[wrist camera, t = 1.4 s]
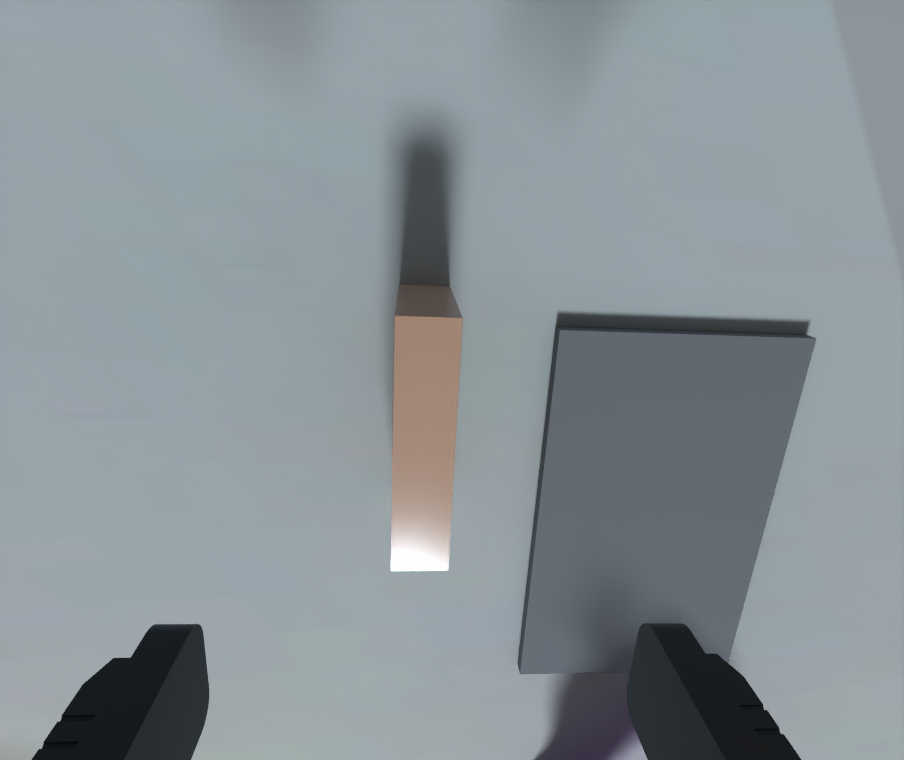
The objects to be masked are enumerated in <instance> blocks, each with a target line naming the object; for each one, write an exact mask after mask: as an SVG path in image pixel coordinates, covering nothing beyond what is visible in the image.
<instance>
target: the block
mask: <svg viewBox="0 0 904 760" xmlns="http://www.w3.org/2000/svg"><path fill="white" fill-rule="evenodd" d="M462 320H463V318H462V315H461V313H460V310H459V308H458V305H457V303H456V301H455V298H454V296H453V293H452V291H451V288H450V286H435V285H409V284H399V290H398V297H397V304H396V311H395V336H394V399H393V463H392V526H391V571H448V567H449V549H450V531H451V514H452V496H453V479H454V461H455V443H456V426H457V408H458V390H459V373H460V355H461V337H462Z"/></svg>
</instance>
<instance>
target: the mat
mask: <svg viewBox="0 0 904 760" xmlns="http://www.w3.org/2000/svg"><path fill="white" fill-rule="evenodd" d="M815 341H816V338H814V337H811V336H808V335H792V334H762V333H732V332H702V331H671V330H641V329H611V328H581V327H556V333H555V342H554V350H553V359H552V368H551V377H550V386H549V395H548V403H547V412H546V421H545V430H544V439H543V447H542V456H541V465H540V474H539V483H538V491H537V500H536V509H535V518H534V527H533V536H532V544H531V553H530V562H529V571H528V580H527V588H526V597H525V606H524V615H523V624H522V632H521V641H520V650H519V659H518V667H519V672H520V674H550V673H600V672H630V670H631V665H632V660H633V655H634V650H635V645H636V640H637V635H638V631H639V628H640V626H641V625H642V624H644V623H682V624H685V625H686V626H687V627H688V628H689V629H690V630H691V632H692V633H693V635H694V636H695V638H696V639H697V641H698V643H699V644H700V646H701V647H702V649H703V650H704V652H705V653H706V654H718V655H719V656H720V657H721V658H722V659H724V660H725V661H726V662H727V663H728V660H729V657H730V653H731V649H732V646H733V642H734V638H735V635H736V631H737V627H738V624H739V620H740V616H741V613H742V609H743V605H744V602H745V598H746V594H747V591H748V587H749V583H750V580H751V576H752V572H753V569H754V565H755V561H756V558H757V554H758V550H759V547H760V543H761V539H762V536H763V532H764V528H765V525H766V521H767V517H768V514H769V510H770V506H771V503H772V499H773V495H774V492H775V488H776V484H777V481H778V477H779V473H780V470H781V466H782V462H783V459H784V455H785V451H786V448H787V444H788V440H789V437H790V433H791V429H792V426H793V422H794V418H795V415H796V411H797V407H798V404H799V400H800V396H801V393H802V389H803V385H804V382H805V378H806V374H807V371H808V367H809V363H810V360H811V356H812V352H813V349H814V345H815Z"/></svg>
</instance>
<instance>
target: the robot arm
mask: <svg viewBox="0 0 904 760" xmlns="http://www.w3.org/2000/svg"><path fill="white" fill-rule="evenodd" d="M627 700H628V707H629V712H630V716H631V720H632V723H633V725H634V728H635V730H636V733H637V735H638V737H639V740H640V742H641V745H642V747H643V749H644V752H645V754H646V756H647V759H648V760H801V759H800V757H799V756H798V754H797V753H796V751H795V750H794V748H793V747H792V746H791V744H790V743H789V741H788V740H787V738H786V737H785V736H784V734H781V733H780V731H779V727H778V725H777V724H776V723H775V721H774V720H773V718H772V717H771V715H770V714H769V712H768V711H767V710H764V708H763V704H762V702H761V701H760V700H759V698H758V697H757V695H756V694H755V692H754V691H753V689H752V688H751V687H750V685H749V684H748V682H747V681H746V679H745V678H744V677H743V676H742V675H741V674H740V673H739V672H738V671H736V670H735V669H734V668H733V667H732V666H731V665H729V664H728V663H727V662H726V661H725V660H724V659H722V658H721V657H720V656H719V655H718V654H706V653H705V652H704V650H703V649H702V647H701V646H700V644H699V643H698V641H697V639H696V638H695V636H694V635H693V633H692V632H691V630H690V629H689V628H688V627H687V626H686V625H685V624H682V623H644V624H642V625H641V626H640V628H639V631H638V635H637V640H636V645H635V650H634V655H633V660H632V665H631V670H630V675H629V680H628V686H627ZM208 703H209V684H208V674H207V665H206V656H205V646H204V637H203V630H202V627H201V626H200V625H199V624H156V625H153V626H152V627H151V628H150V629H149V630H148V631H147V633H146V634H145V636H144V637H143V639H142V641H141V642H140V644H139V645H138V647H137V649H136V650H135V652H134V654H133V655H132V657H131V658H113V659H112V660H111V661H110V662H109V663H107V664H106V665H105V666H104V667H103V668H102V669H100V670H99V671H98V672H97V673H96V674H95V675H93V676H92V677H91V678H90V679H89V680H88V681H86V682H85V683H84V684H83V685H82V687H81V688H80V690H79V691H78V693H77V694H76V695H75V697H74V698H73V700H72V701H71V703H70V704H69V706H68V707H67V709H66V710H65V712H64V713H63V715H62V719H61V721H60V722H57V723H56V725H55V726H54V728H53V729H52V731H51V732H50V734H49V735H48V737H47V738H46V739H45V741H44V745H43V747H42V749H39V750H38V751H37V753H36V754H35V756H34V757H33V758H32V760H191V758H192V755H193V753H194V750H195V748H196V745H197V743H198V740H199V738H200V735H201V733H202V730H203V727H204V724H205V720H206V715H207V710H208Z"/></svg>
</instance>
